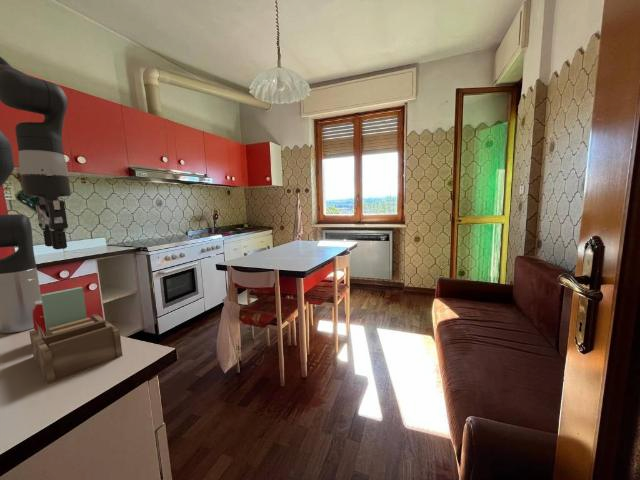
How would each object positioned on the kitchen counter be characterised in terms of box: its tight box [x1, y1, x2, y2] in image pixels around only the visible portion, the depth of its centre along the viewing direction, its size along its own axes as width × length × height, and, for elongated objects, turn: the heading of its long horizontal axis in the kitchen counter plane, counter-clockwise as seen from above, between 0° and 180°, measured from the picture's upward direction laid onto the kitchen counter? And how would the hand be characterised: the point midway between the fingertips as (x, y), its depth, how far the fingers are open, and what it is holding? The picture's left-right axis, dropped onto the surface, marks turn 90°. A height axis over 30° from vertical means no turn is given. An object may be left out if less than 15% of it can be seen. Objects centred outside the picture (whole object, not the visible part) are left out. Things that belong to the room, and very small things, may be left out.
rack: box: [28, 313, 124, 385], centre depth 62 cm, size 16×12×8 cm
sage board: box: [41, 286, 88, 336], centre depth 65 cm, size 2×7×14 cm, turn 143°
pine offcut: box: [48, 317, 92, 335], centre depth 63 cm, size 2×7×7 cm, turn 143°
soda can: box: [32, 300, 47, 337], centre depth 70 cm, size 7×7×12 cm
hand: (55, 247), depth 63 cm, fingers open, 8 cm apart
